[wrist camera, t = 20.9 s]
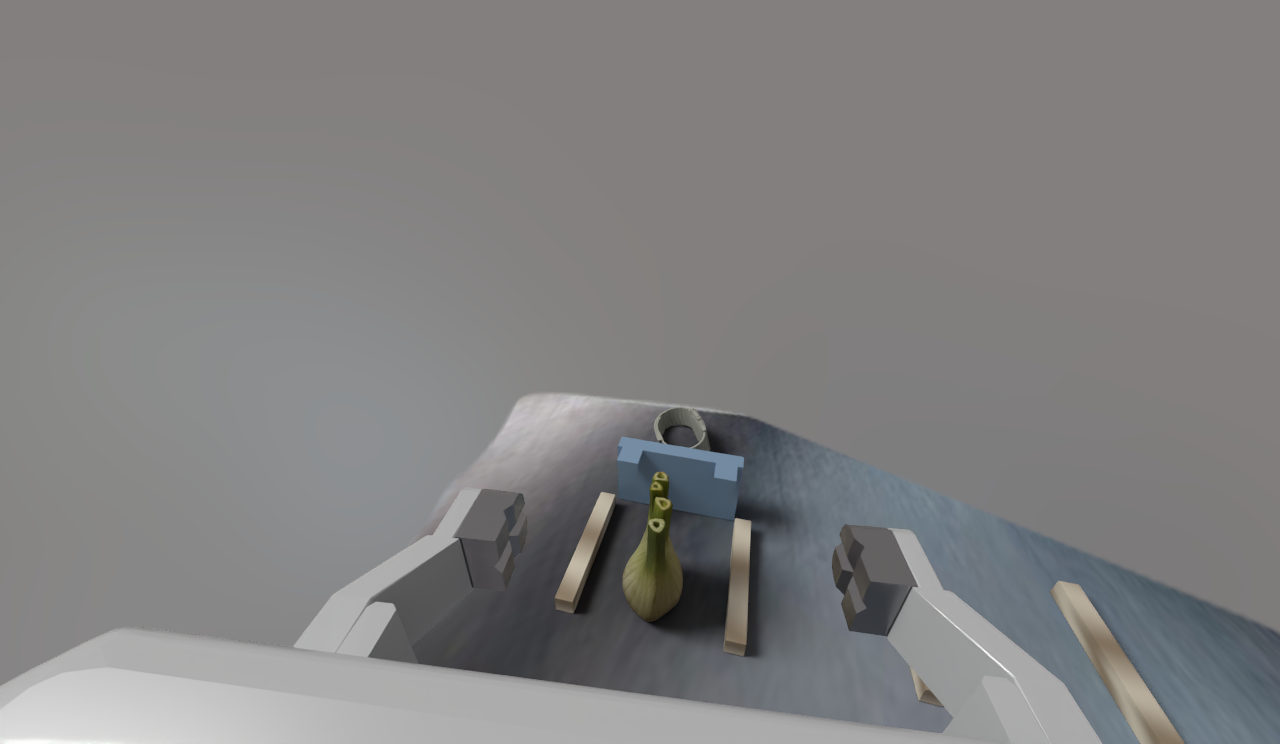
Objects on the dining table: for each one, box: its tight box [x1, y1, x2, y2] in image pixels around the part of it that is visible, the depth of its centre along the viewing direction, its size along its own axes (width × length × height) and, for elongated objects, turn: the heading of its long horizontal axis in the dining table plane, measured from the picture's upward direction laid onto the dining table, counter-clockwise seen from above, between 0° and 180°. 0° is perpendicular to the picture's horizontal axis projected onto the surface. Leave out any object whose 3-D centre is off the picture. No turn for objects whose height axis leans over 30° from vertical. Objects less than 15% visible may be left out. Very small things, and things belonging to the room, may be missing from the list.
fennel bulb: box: [623, 472, 683, 622], centre depth 35 cm, size 6×5×12 cm
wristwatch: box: [654, 407, 711, 451], centre depth 54 cm, size 9×6×5 cm
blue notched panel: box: [617, 437, 744, 521], centre depth 44 cm, size 4×12×7 cm, turn 76°
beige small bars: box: [555, 492, 1185, 744], centre depth 37 cm, size 12×42×2 cm, turn 76°
